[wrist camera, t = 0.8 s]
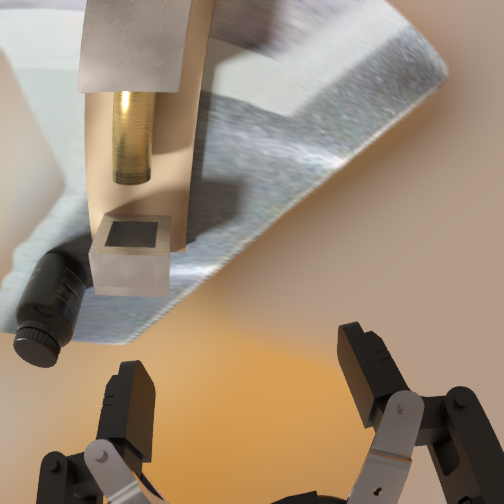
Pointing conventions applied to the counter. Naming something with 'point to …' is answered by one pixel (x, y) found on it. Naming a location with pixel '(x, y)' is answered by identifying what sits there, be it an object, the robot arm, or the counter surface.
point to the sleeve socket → (133, 80)
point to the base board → (163, 144)
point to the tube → (132, 137)
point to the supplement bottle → (49, 309)
